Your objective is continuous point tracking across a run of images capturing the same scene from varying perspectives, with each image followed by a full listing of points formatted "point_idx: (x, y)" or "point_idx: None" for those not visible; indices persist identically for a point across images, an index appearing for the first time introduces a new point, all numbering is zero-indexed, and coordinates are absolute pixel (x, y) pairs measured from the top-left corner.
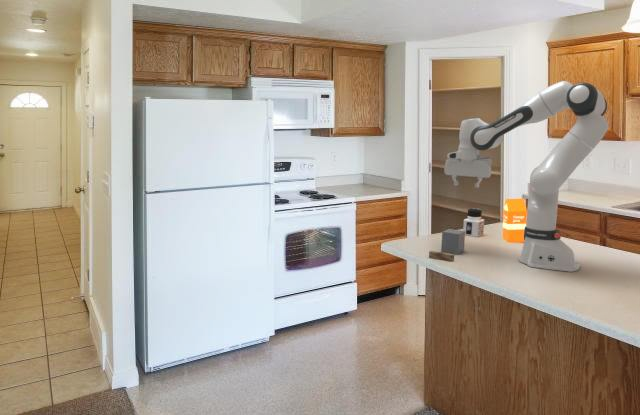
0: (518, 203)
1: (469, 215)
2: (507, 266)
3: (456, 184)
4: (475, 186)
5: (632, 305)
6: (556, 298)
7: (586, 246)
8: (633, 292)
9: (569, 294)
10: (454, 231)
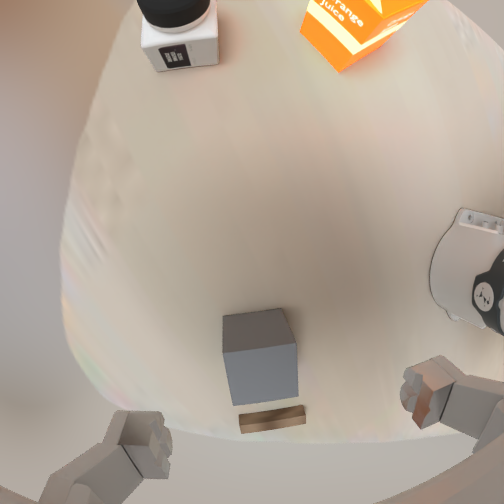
0: None
1: (159, 24)
2: (414, 352)
3: (164, 450)
4: (411, 402)
5: None
6: None
7: (468, 31)
8: None
9: None
10: (265, 375)
